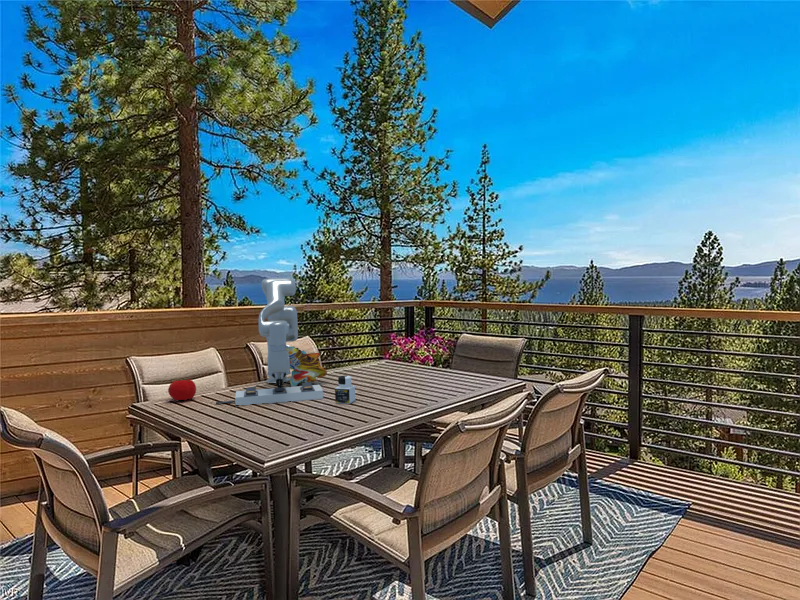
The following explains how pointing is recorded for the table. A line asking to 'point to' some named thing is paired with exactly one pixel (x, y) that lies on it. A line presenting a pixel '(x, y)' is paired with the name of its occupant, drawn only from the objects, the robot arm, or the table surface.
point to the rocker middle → (279, 389)
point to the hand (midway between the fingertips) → (279, 387)
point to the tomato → (182, 389)
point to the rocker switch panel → (277, 395)
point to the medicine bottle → (344, 390)
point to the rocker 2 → (307, 386)
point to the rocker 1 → (250, 390)
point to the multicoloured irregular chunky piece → (304, 366)
